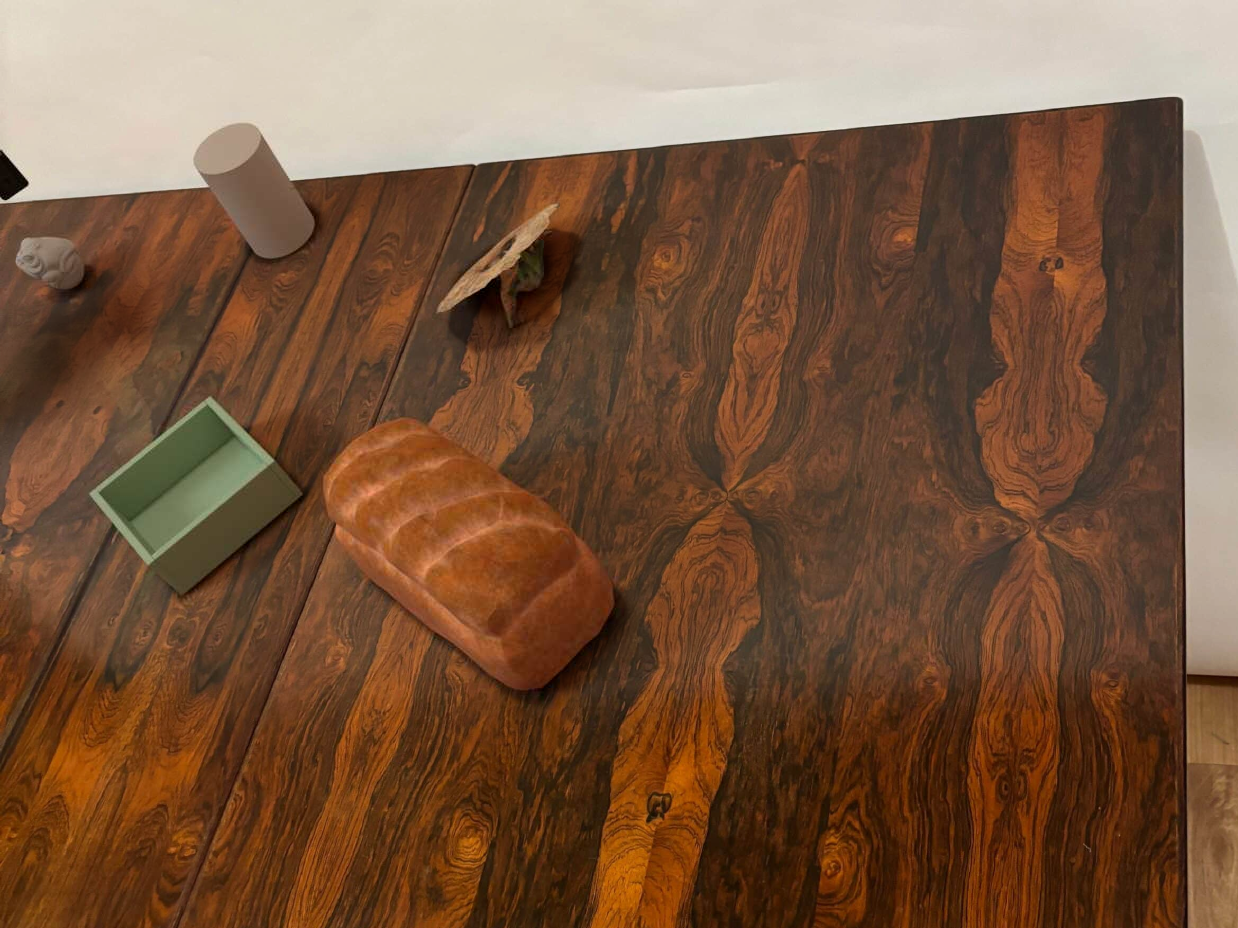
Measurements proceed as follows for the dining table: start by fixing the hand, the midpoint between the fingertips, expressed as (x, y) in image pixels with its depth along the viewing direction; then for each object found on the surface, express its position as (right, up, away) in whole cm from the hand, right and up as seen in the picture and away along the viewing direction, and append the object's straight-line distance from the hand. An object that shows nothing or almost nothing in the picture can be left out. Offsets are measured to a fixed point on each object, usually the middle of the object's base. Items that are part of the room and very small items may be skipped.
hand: (1, 172), depth 122 cm
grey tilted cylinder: (+24, 0, +17) cm, 29 cm away
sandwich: (+53, -11, +4) cm, 54 cm away
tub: (+23, -36, -2) cm, 42 cm away
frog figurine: (-4, -4, +22) cm, 23 cm away
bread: (+53, -44, -14) cm, 71 cm away
